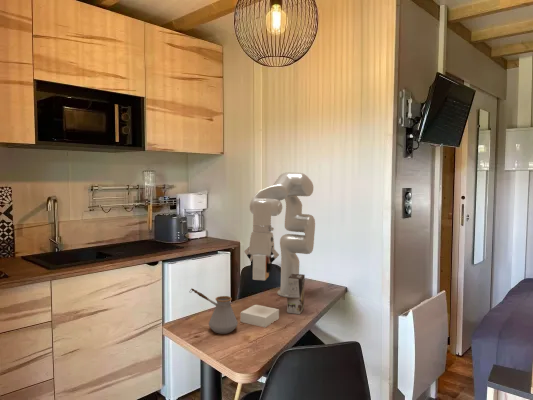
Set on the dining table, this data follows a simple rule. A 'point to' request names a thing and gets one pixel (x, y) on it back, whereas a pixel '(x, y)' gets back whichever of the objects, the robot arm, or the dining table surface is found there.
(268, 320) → the cream white block
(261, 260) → the small box
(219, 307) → the coffee pot
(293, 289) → the coffee box
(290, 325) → the dining table surface
